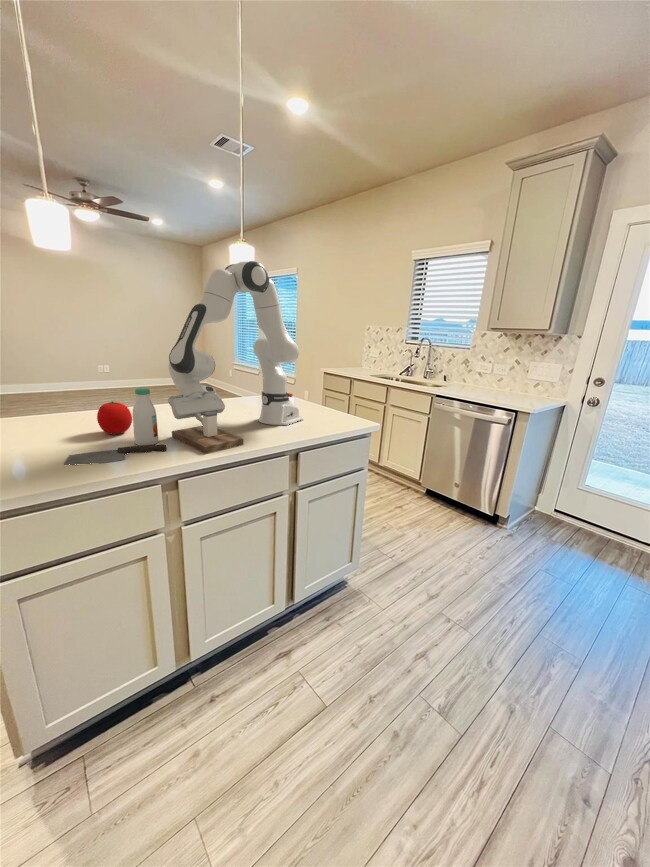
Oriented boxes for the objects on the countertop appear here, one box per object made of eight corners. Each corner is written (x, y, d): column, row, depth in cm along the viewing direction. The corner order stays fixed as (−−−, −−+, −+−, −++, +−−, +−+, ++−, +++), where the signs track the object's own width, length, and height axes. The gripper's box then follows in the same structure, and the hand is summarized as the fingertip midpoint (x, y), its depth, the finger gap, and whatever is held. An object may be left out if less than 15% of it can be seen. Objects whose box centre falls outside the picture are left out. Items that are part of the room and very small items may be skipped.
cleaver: (165, 447, 128) (165, 441, 127) (169, 456, 120) (169, 450, 119) (65, 458, 113) (64, 452, 112) (62, 469, 105) (61, 463, 104)
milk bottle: (149, 447, 125) (144, 391, 120) (130, 444, 127) (124, 389, 121) (163, 441, 133) (159, 388, 127) (144, 438, 134) (140, 386, 128)
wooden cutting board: (208, 430, 149) (208, 424, 149) (243, 444, 135) (243, 438, 134) (172, 437, 138) (171, 430, 137) (205, 453, 123) (205, 446, 122)
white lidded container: (213, 433, 136) (212, 411, 134) (217, 435, 135) (217, 413, 132) (203, 435, 133) (202, 413, 131) (207, 437, 131) (207, 414, 129)
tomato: (111, 428, 144) (107, 397, 140) (139, 430, 144) (136, 399, 140) (90, 437, 132) (86, 404, 128) (121, 439, 132) (117, 406, 128)
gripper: (168, 392, 128) (183, 423, 125) (218, 387, 143) (232, 415, 140) (163, 401, 132) (178, 433, 129) (212, 396, 147) (226, 424, 144)
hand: (207, 423), depth 134 cm, fingers closed, pressing on white lidded container
